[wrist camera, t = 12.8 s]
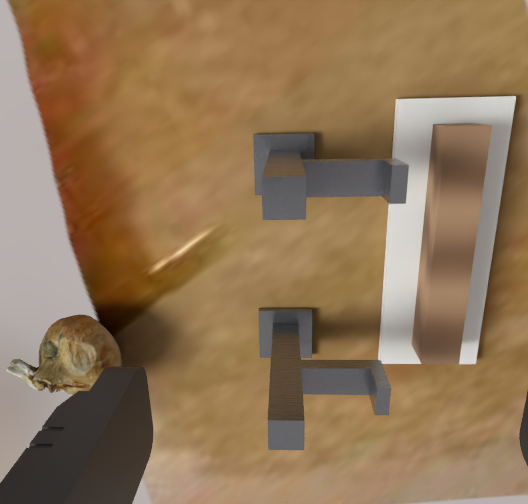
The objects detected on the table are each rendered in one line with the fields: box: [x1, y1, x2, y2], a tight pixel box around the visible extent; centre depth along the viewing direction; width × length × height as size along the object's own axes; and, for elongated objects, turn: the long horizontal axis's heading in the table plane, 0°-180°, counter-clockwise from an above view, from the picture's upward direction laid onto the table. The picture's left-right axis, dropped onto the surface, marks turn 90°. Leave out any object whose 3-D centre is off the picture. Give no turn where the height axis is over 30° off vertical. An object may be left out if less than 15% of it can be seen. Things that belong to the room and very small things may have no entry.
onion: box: [6, 315, 122, 395], centre depth 40 cm, size 8×8×8 cm
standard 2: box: [253, 133, 409, 220], centre depth 31 cm, size 5×10×14 cm, turn 91°
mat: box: [378, 96, 516, 364], centre depth 39 cm, size 24×9×1 cm, turn 1°
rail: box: [412, 123, 492, 364], centre depth 37 cm, size 20×3×3 cm, turn 1°
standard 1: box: [259, 308, 391, 450], centre depth 36 cm, size 5×10×14 cm, turn 91°
